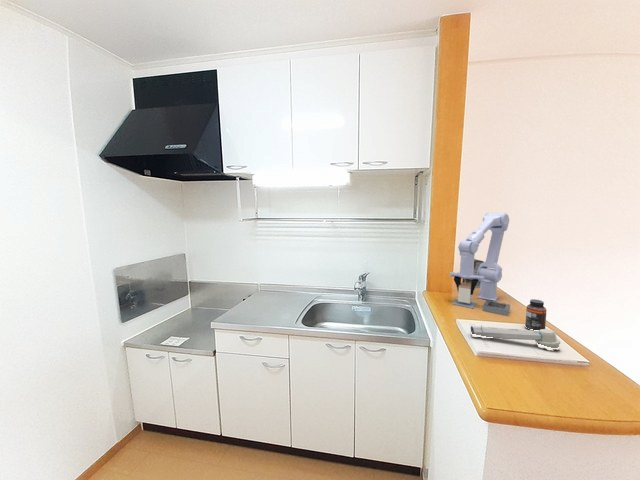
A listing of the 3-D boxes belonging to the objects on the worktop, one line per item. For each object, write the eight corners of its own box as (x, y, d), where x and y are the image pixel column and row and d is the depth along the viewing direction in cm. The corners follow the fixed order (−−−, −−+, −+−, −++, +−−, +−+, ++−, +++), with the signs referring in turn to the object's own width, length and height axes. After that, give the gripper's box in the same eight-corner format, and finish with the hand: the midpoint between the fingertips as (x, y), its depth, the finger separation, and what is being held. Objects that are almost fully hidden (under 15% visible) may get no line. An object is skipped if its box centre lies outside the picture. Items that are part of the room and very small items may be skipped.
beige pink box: (460, 298, 133) (461, 283, 132) (471, 300, 130) (472, 284, 129) (457, 301, 129) (458, 285, 128) (469, 303, 126) (470, 287, 125)
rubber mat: (456, 299, 136) (456, 298, 136) (477, 303, 130) (477, 302, 130) (452, 304, 129) (452, 303, 129) (473, 308, 124) (473, 307, 123)
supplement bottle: (540, 327, 104) (543, 299, 102) (547, 334, 98) (550, 304, 97) (522, 325, 106) (524, 297, 104) (528, 331, 100) (531, 302, 99)
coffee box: (461, 284, 165) (463, 258, 163) (470, 283, 166) (471, 258, 165) (473, 288, 156) (475, 261, 154) (482, 287, 158) (484, 260, 156)
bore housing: (486, 305, 128) (486, 300, 128) (510, 309, 122) (510, 304, 122) (482, 310, 121) (482, 305, 121) (507, 316, 115) (508, 310, 115)
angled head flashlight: (469, 323, 99) (554, 325, 89) (471, 340, 99) (556, 344, 89) (472, 329, 94) (562, 331, 84) (473, 347, 94) (563, 352, 85)
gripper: (448, 264, 129) (447, 292, 131) (483, 269, 120) (481, 298, 122) (452, 262, 135) (450, 288, 136) (485, 266, 125) (483, 294, 127)
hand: (465, 293), depth 129 cm, fingers closed on beige pink box, 5 cm apart
